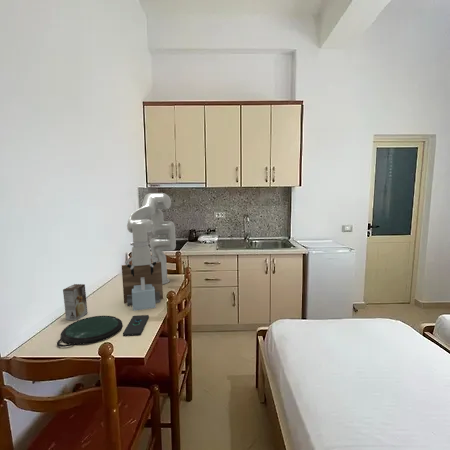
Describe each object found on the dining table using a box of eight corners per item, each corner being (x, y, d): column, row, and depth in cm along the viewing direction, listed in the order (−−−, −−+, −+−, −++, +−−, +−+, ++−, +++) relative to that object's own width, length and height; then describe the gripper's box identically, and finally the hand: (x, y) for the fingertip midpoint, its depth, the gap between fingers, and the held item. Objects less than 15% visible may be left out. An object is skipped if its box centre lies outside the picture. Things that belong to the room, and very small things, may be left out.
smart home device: (149, 314, 158) (140, 332, 139) (149, 317, 159) (140, 336, 139) (132, 315, 158) (121, 333, 138) (133, 318, 158) (122, 337, 138)
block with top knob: (133, 302, 179) (131, 275, 177) (154, 300, 183) (152, 273, 181) (132, 310, 167) (131, 281, 165) (155, 307, 171) (154, 279, 169)
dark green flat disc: (134, 319, 150) (79, 348, 123) (134, 325, 150) (80, 355, 124) (96, 310, 162) (39, 335, 136) (96, 316, 162) (39, 342, 136)
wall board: (124, 302, 180) (121, 265, 177) (162, 297, 186) (160, 261, 183) (123, 306, 173) (121, 268, 171) (163, 301, 179) (161, 264, 177)
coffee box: (77, 312, 167) (74, 283, 165) (87, 313, 165) (85, 284, 163) (65, 320, 158) (62, 289, 156) (76, 320, 156) (73, 289, 154)
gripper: (123, 246, 162) (125, 278, 165) (157, 244, 167) (159, 275, 169) (124, 244, 169) (126, 274, 172) (156, 241, 174) (158, 271, 176)
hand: (142, 274), depth 170 cm, fingers open, 9 cm apart
